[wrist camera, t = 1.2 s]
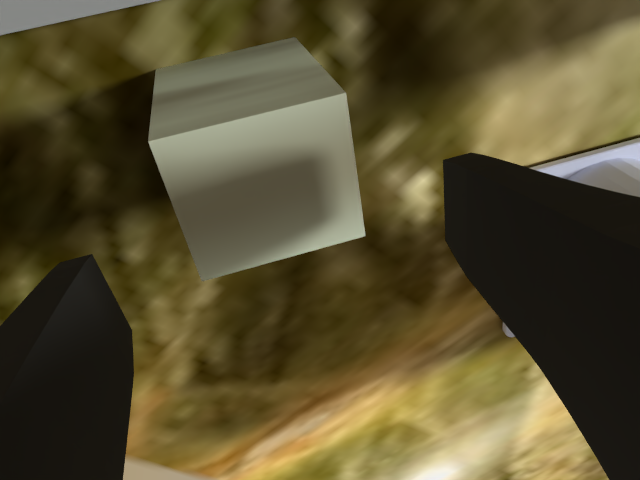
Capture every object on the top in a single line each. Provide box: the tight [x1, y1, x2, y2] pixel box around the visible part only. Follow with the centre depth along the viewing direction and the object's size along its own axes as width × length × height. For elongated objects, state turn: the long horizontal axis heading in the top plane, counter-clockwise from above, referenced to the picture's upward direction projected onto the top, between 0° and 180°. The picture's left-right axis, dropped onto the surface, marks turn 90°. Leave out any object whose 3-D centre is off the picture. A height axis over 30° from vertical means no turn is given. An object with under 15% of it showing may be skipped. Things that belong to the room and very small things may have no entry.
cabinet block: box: [148, 37, 365, 281], centre depth 15 cm, size 4×4×6 cm
